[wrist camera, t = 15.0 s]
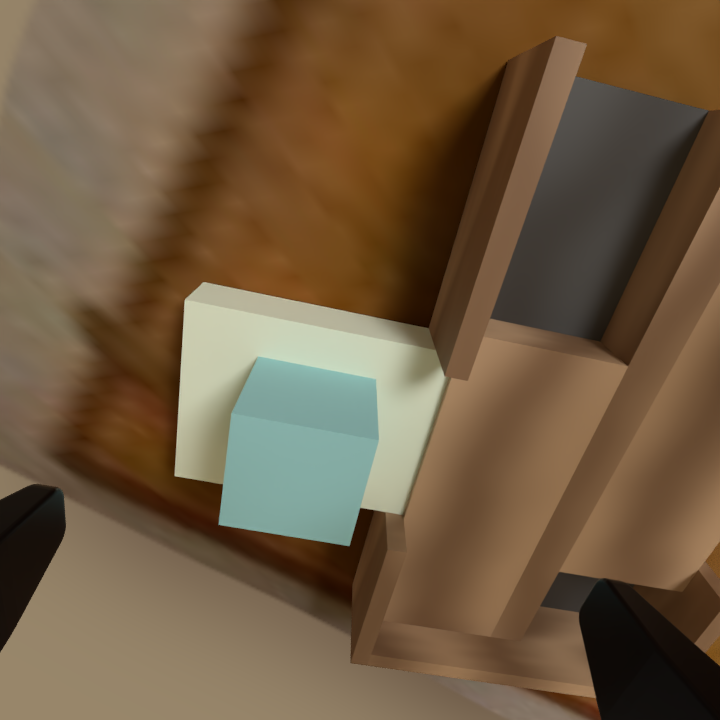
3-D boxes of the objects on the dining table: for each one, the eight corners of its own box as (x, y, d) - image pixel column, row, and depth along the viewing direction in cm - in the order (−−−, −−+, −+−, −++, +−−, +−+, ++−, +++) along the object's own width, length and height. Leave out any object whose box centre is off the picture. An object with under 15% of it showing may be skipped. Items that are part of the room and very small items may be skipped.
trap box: (928, 168, 17) (1097, 179, 13) (618, 625, 27) (660, 707, 23) (508, 60, 16) (556, 35, 12) (352, 584, 26) (350, 663, 22)
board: (447, 332, 20) (456, 354, 18) (399, 481, 23) (403, 515, 21) (203, 282, 19) (184, 299, 17) (191, 445, 22) (174, 475, 20)
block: (376, 379, 18) (379, 440, 15) (351, 471, 20) (349, 546, 16) (258, 356, 18) (231, 413, 14) (245, 452, 20) (218, 524, 16)
